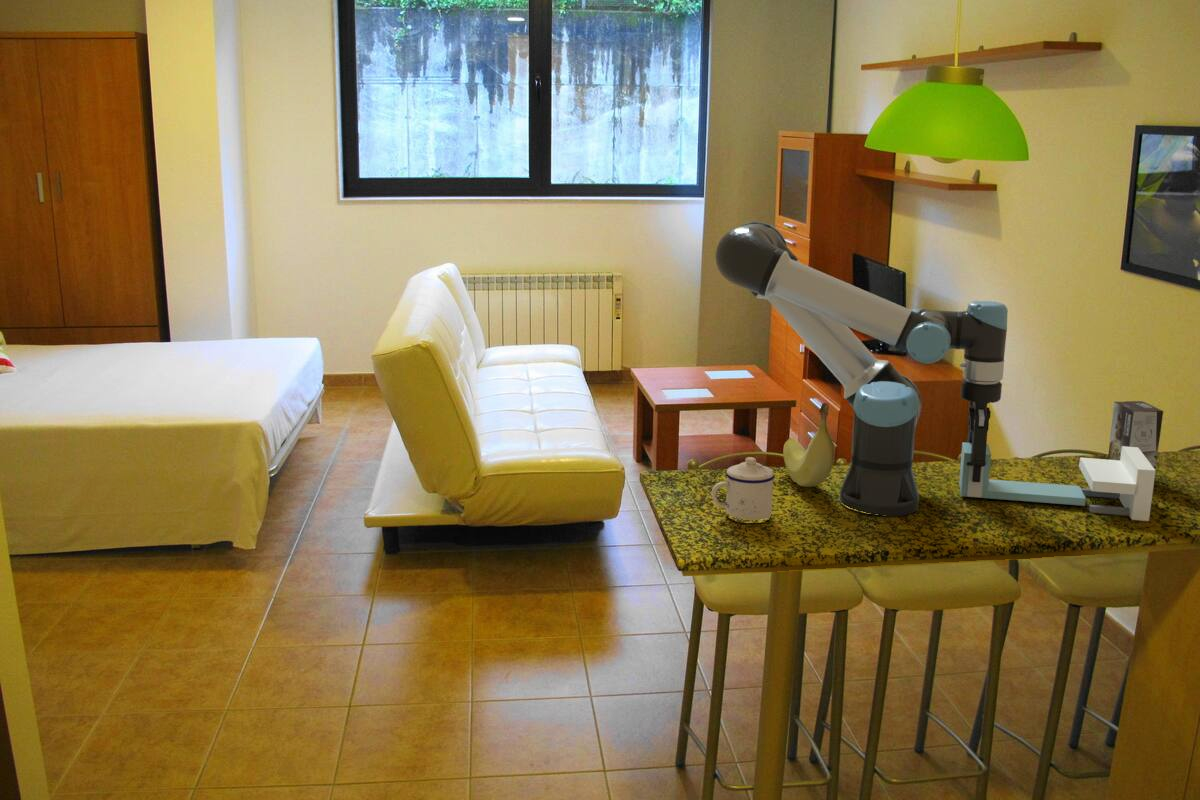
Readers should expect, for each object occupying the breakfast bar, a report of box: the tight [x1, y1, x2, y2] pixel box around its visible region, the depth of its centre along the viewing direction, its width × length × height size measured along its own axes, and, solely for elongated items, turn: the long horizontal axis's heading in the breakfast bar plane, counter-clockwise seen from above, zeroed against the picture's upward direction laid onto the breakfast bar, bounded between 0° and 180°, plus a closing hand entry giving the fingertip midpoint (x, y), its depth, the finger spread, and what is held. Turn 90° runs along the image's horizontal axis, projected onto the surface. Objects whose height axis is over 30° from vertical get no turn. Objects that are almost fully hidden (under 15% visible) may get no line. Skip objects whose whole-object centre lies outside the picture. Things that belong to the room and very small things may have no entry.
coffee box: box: [1107, 400, 1164, 471], centre depth 229 cm, size 9×6×16 cm
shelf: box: [1078, 446, 1157, 522], centre depth 213 cm, size 10×16×10 cm, turn 165°
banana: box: [782, 402, 835, 488], centre depth 223 cm, size 23×6×20 cm, turn 8°
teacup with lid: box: [711, 456, 776, 520], centre depth 205 cm, size 12×9×12 cm
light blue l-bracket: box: [958, 441, 1087, 507], centre depth 218 cm, size 23×8×9 cm, turn 75°
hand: (972, 489), depth 221 cm, fingers closed on light blue l-bracket, 8 cm apart
